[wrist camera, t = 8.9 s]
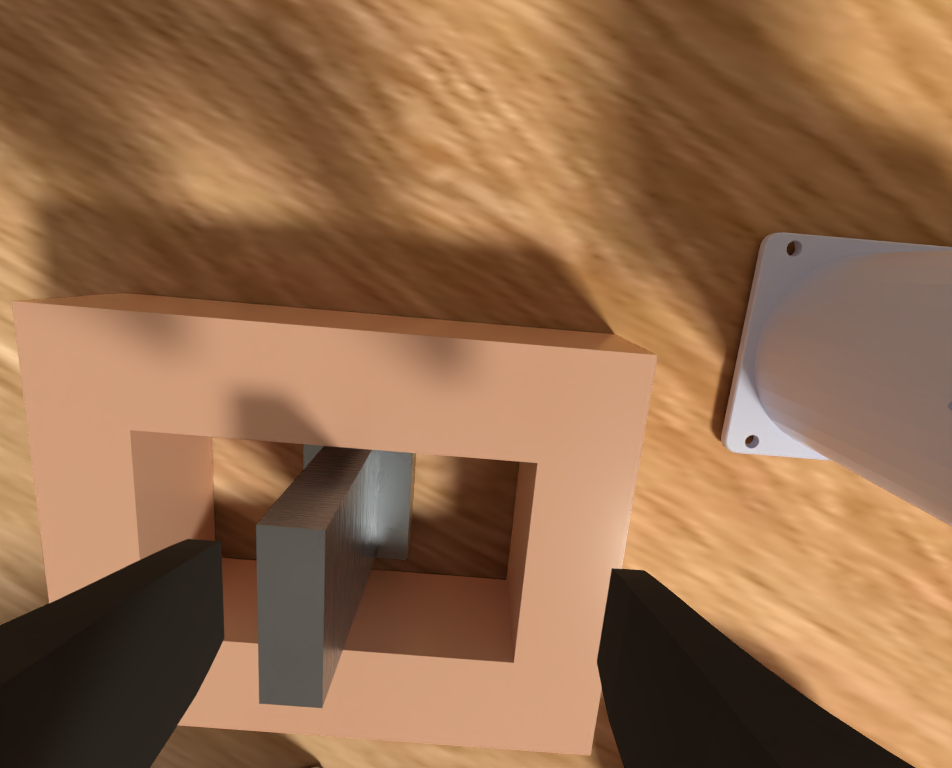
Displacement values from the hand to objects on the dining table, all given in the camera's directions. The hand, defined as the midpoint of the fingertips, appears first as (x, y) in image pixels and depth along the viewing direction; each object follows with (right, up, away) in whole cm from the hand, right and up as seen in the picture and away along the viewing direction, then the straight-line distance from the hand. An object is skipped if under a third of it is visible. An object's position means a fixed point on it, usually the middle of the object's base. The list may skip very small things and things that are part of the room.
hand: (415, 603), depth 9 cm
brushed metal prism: (-3, 0, +11) cm, 11 cm away
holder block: (-3, 0, +11) cm, 11 cm away
